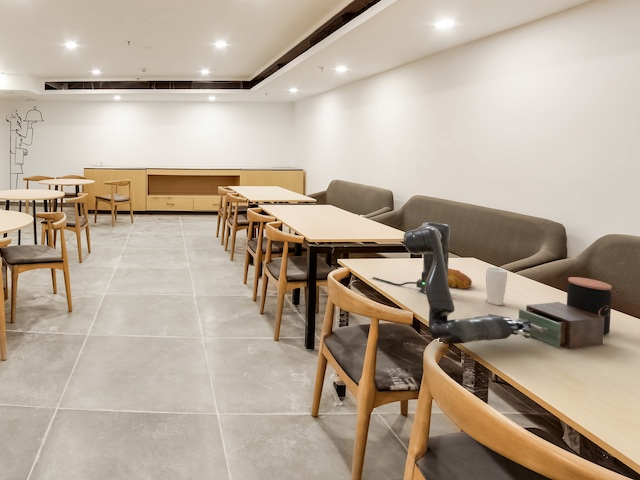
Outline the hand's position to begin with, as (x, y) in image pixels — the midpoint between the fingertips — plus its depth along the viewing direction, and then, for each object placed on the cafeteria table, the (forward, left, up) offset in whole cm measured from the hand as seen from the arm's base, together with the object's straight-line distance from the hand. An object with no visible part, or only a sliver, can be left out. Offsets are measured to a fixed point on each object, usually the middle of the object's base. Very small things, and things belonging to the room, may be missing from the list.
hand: (527, 323), depth 127 cm
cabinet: (+8, +14, -6) cm, 18 cm away
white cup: (-12, +34, -7) cm, 37 cm away
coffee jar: (+14, +30, -7) cm, 34 cm away
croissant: (-29, +48, -7) cm, 56 cm away
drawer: (+5, +8, -5) cm, 11 cm away
